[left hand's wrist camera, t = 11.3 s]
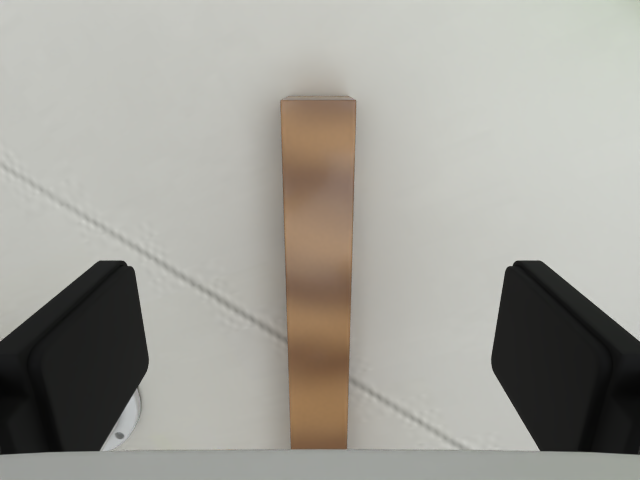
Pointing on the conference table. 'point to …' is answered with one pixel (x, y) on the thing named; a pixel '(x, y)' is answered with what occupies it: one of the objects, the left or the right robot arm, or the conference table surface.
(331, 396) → the bar
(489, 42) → the conference table surface
